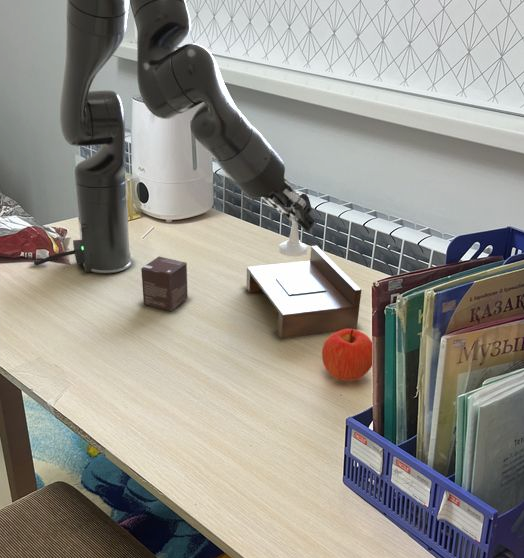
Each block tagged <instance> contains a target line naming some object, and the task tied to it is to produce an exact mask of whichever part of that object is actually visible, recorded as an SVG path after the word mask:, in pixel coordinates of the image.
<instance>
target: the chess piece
mask: <svg viewBox="0 0 524 558" xmlns="http://www.w3.org/2000/svg"><path fill="white" fill-rule="evenodd" d="M296 192H297V194H298V195H299V196H300V192H299V191H296ZM293 212H295V211H294V209H293ZM289 220H290V221H292V223H291V228H290V233H289V237H288V239H287V240H286V241H283V242H281V243H279V245H278V252H279V253H280V254H281V255H284V256H288V257H295V258H297V257H303V256H305V255H307V254H308V252H309V251H308V249H309V248H308V246H307V244H305V243H304V242H302V241H301V240H300V237H299V236H300V235H299V234H300V233H299V225H298V223H297V222H296V221H295V220H294V219H293V218H292V217H291V216H290V217H289ZM289 220H288V221H289ZM290 221H289V222H290Z"/></svg>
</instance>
